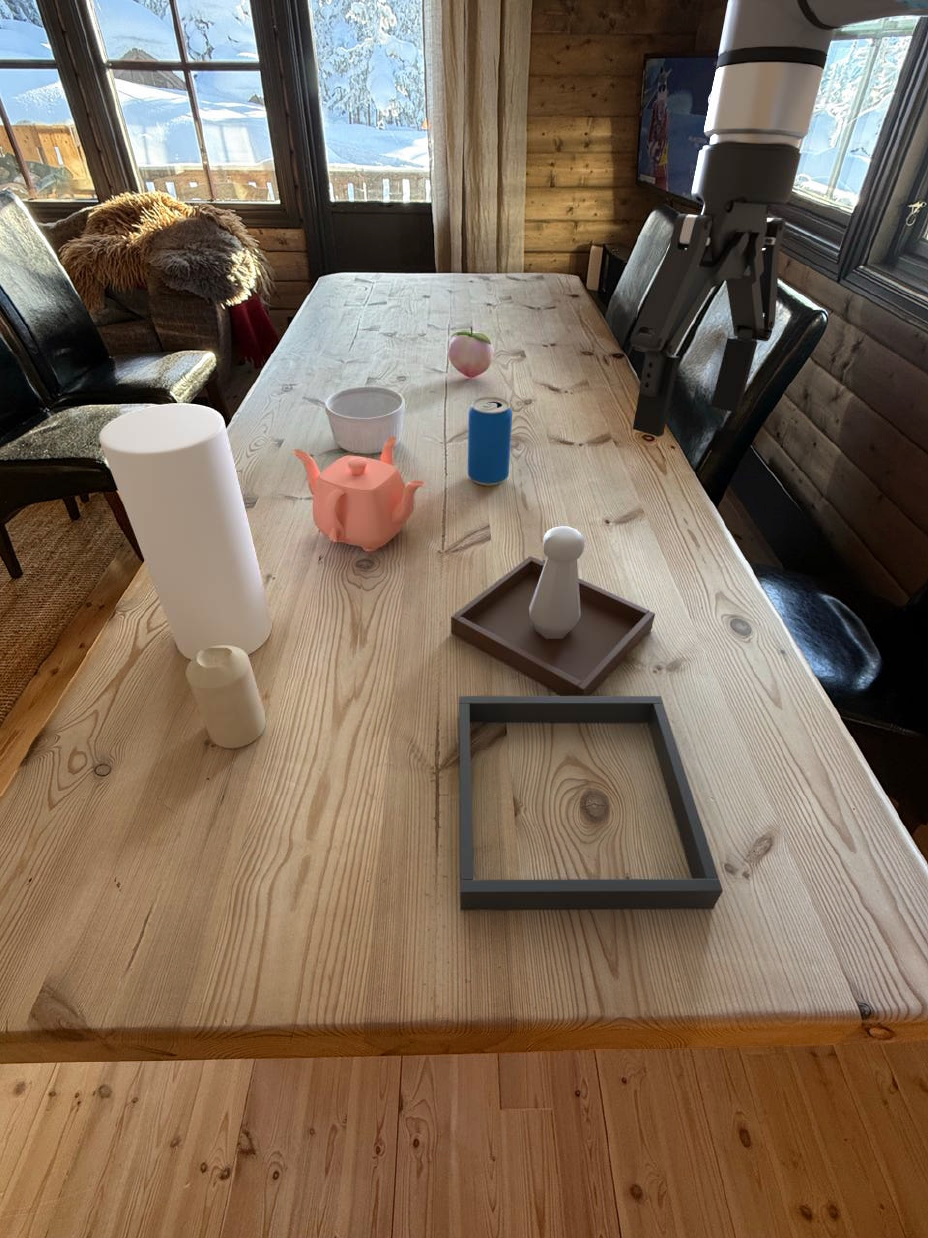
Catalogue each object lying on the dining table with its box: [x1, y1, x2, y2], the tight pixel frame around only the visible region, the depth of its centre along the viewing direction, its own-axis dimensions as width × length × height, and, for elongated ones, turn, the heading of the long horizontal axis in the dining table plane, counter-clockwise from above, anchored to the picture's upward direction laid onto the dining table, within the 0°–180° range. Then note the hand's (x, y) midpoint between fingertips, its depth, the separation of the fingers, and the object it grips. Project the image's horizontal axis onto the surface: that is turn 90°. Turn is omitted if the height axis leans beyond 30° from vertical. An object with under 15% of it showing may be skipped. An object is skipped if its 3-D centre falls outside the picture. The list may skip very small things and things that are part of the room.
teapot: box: [292, 437, 426, 552], centre depth 88 cm, size 14×14×11 cm
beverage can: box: [467, 396, 513, 486], centre depth 100 cm, size 6×6×12 cm
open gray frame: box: [458, 695, 724, 911], centre depth 58 cm, size 20×20×3 cm
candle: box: [185, 645, 267, 749], centre depth 62 cm, size 6×6×10 cm
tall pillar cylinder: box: [98, 403, 273, 661], centre depth 68 cm, size 11×11×25 cm
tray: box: [450, 555, 656, 696], centre depth 76 cm, size 18×16×3 cm
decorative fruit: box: [447, 326, 494, 379], centre depth 133 cm, size 9×8×10 cm
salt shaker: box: [529, 525, 586, 639], centre depth 72 cm, size 6×6×13 cm
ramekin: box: [324, 385, 406, 455], centre depth 111 cm, size 13×13×7 cm
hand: (688, 420), depth 62 cm, fingers open, 13 cm apart
